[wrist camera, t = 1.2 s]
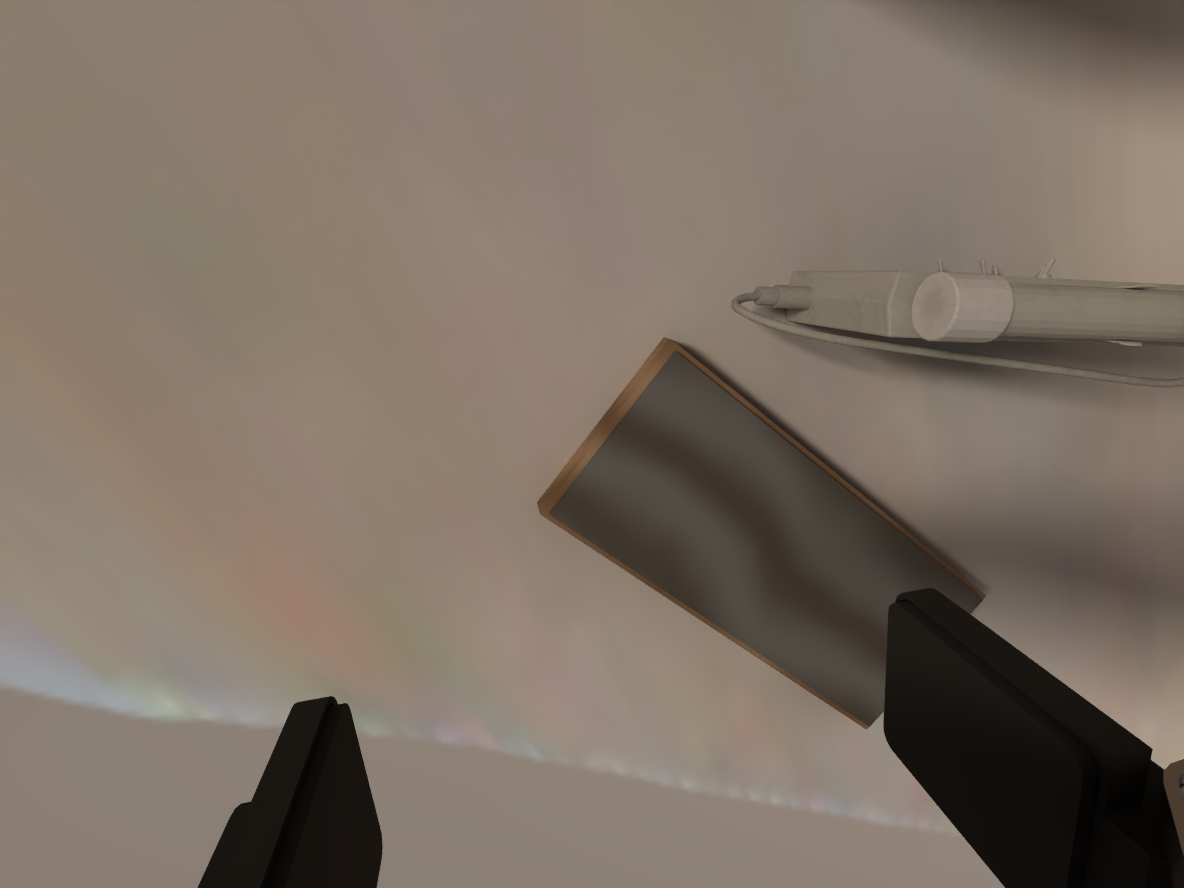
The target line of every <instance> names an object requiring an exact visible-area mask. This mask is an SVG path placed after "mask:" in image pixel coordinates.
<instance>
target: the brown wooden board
mask: <svg viewBox="0 0 1184 888" xmlns="http://www.w3.org/2000/svg"><path fill="white" fill-rule="evenodd" d="M537 503H538V507H539V512H540V515H542V516H543V517H545V518H546V519H548V520H550V521H551V522H553V523H554V524H556V525H557V526H559V527H560V528H562V529H563V530H565V531H566V532H568V533H569V534H571V535H572V536H574V537H575V538H577V539H578V540H580V541H581V542H583V543H584V544H586V545H587V546H589V547H590V548H592V549H594V550H595V551H597V552H598V553H600V554H601V555H603V556H604V557H606V558H607V559H609V560H610V561H612V562H613V563H615V564H616V565H618V566H619V567H621V568H622V569H624V570H625V571H627V572H628V573H630V574H631V575H633V576H634V577H636V578H637V579H639V580H641V581H642V582H644V583H645V584H647V585H648V586H650V587H651V588H653V589H654V590H656V591H657V592H659V593H660V594H662V595H663V596H665V597H666V598H668V599H669V600H671V601H672V602H674V603H675V604H677V605H678V606H680V607H681V608H683V609H685V610H686V611H688V612H689V613H691V614H692V615H694V616H695V617H697V618H698V619H700V620H701V621H703V622H704V623H706V624H707V625H709V626H710V627H712V628H713V629H715V630H716V631H718V632H719V633H721V634H722V635H724V636H725V637H727V638H728V639H730V640H732V641H733V642H735V643H736V644H738V645H739V646H741V647H742V648H744V649H745V650H747V651H748V652H750V653H751V654H753V655H754V656H756V657H757V658H759V659H760V660H762V661H763V662H765V663H766V664H768V665H769V666H771V667H772V668H774V669H776V670H777V671H779V672H780V673H782V674H783V675H785V676H786V677H788V678H789V679H791V680H792V681H794V682H795V683H797V684H798V685H800V686H801V687H803V688H804V689H806V690H807V691H809V692H810V693H812V694H813V695H815V696H816V697H818V698H819V699H821V700H823V701H824V702H826V703H827V704H829V705H830V706H832V707H833V708H835V709H836V710H838V711H839V712H841V713H842V714H844V715H845V716H847V717H848V718H850V719H851V720H853V721H854V722H856V723H857V724H859V725H860V726H862V727H863V728H865V729H868V727H870V726H871V725H872V724H873V723H874V721H875V720H876V719H877V718H878V717H879V716H880V715H881V714H882V713H883V711H884V703H885V678H886V654H887V629H888V610H889V606H890V605H891V604H892V603H895V600H896V598H897V596H898V595H899V594H900V593H904V592H909V591H915V590H920V589H926V588H934V589H936V590H938V591H939V592H941V593H942V594H943V595H945V596H946V597H947V598H949V599H950V600H951V601H953V602H954V603H955V604H957V605H958V606H959V607H961V608H962V609H964V610H965V611H966V612H968V613H969V614H971V613H972V612H973V610H974V609H975V608H976V607H977V606H978V605H979V604H980V603H981V602H982V600H983V598H984V597H985V596H986V595H985V594H984V593H982V592H981V591H980V590H979V589H977V588H976V587H975V586H974V585H973V584H971V583H970V582H969V581H968V580H966V579H965V578H964V577H963V576H961V575H960V574H959V573H958V572H957V571H955V570H954V569H953V568H952V567H950V566H949V565H948V564H947V563H946V562H944V561H943V560H942V559H941V558H939V557H938V556H937V555H936V554H934V553H933V552H932V551H931V550H930V549H928V548H927V547H926V546H925V545H923V544H922V543H921V542H920V541H919V540H917V539H916V538H915V537H914V536H912V535H911V534H910V533H909V532H907V531H906V530H905V529H904V528H903V527H901V526H900V525H899V524H898V523H896V522H895V521H894V520H893V519H891V518H890V517H889V516H888V515H887V514H885V513H884V512H883V511H882V510H880V509H879V508H878V507H877V506H876V505H874V504H873V503H872V502H871V501H869V500H868V499H867V498H866V497H864V496H863V495H862V494H861V493H860V492H858V491H857V490H856V489H855V488H853V487H852V486H851V485H850V484H849V483H847V482H846V481H845V480H844V479H842V478H841V477H840V476H839V475H837V474H836V473H835V472H834V471H833V470H831V469H830V468H829V467H828V466H826V465H825V464H824V463H823V462H821V461H820V460H819V459H818V458H817V457H815V456H814V455H813V454H812V453H810V452H809V451H808V450H807V449H806V448H804V447H803V446H802V445H801V444H799V443H798V442H797V441H796V440H794V439H793V438H792V437H791V436H790V435H788V434H787V433H786V432H785V431H783V430H782V429H781V428H780V427H779V426H777V425H776V424H775V423H774V422H772V421H771V420H770V419H769V418H767V417H766V416H765V415H764V414H763V413H761V412H760V411H759V410H758V409H756V408H755V407H754V406H753V405H752V404H750V403H749V402H748V401H747V400H745V399H744V398H743V397H742V396H740V395H739V394H738V393H737V392H736V391H734V390H733V389H732V388H731V387H729V386H728V385H727V384H726V383H724V382H723V381H722V380H721V379H720V378H718V377H717V376H716V375H715V374H713V373H712V372H711V371H710V370H709V369H707V368H706V367H705V366H704V365H702V364H701V363H700V362H699V361H697V360H696V359H695V358H694V357H693V356H691V355H690V354H689V353H688V352H686V351H685V350H684V349H683V348H682V347H680V346H679V345H678V344H677V343H675V342H674V341H672V340H669V339H667V338H663V339H662V341H661V342H660V343H659V345H658V346H657V347H656V349H655V350H654V351H653V352H652V354H651V355H650V356H649V358H648V359H647V360H646V362H645V363H644V364H643V365H642V367H641V368H640V369H639V371H638V372H637V373H636V375H635V376H634V377H633V378H632V380H631V381H630V382H629V384H628V385H627V386H626V388H625V389H624V390H623V391H622V393H621V394H620V395H619V397H618V398H617V399H616V401H615V402H614V403H613V404H612V406H611V407H610V408H609V410H608V411H607V412H606V414H605V415H604V416H603V417H602V419H601V420H600V421H599V423H598V424H597V425H596V427H595V428H594V429H593V430H592V432H591V433H590V434H589V436H588V437H587V438H586V440H585V441H584V442H583V443H582V445H581V446H580V447H579V449H578V450H577V451H576V453H575V454H574V455H573V456H572V458H571V459H570V460H569V462H568V463H567V464H566V466H565V467H564V468H563V469H562V471H561V472H560V473H559V475H558V476H557V477H556V479H555V480H554V481H553V482H552V484H551V485H550V486H549V488H548V489H547V490H546V492H545V493H544V494H543V495H542V497H541V498H540V499H539V501H538V502H537Z"/></svg>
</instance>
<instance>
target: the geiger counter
mask: <svg viewBox="0 0 1184 888" xmlns="http://www.w3.org/2000/svg"><path fill="white" fill-rule="evenodd" d="M1054 262H1055V258H1054V257H1052V258H1050V260H1049V262H1048V264H1047V266H1043V267H1042V269H1041V271H1040V272H1039V274H1038V275H1036V278H1031V277H1012V276H999V275H998V269H997V264H996V263H994V264H993V271H994V274H987V273H986V268H985V259H983V258H982V259H980V265H981V271H982V274H979V273H960V272H943V266H942V260H938V267H939V272H937V273H933V272H913V271H798V272H793V274H792V277H791V280H790V284H789V286H787V285H775V286H774V287H757V288H756V289H755V292H754V293H746V294H742V295H739V296H737V297H736V298H734V299H733V300H732V305H731V307H732V309H733V310H734V311H735V312H737V313H739V314H740V315H742V316H744V317H745V318H747V319H749V320H751V321H754V322H756V323H758V324H761V325H764V326H767V327H770V328H773V329H777V330H780V331H783V332H787V333H791V334H795V335H798V336H803V337H807V338H811V339H815V340H820V341H825V342H830V343H836V344H842V345H848V346H854V347H862V348H869V349H876V350H884V351H891V352H898V353H906V354H913V355H920V356H928V357H935V358H942V359H949V360H957V361H964V362H971V363H979V364H986V365H993V366H1001V367H1008V368H1015V369H1023V370H1030V371H1037V372H1045V373H1052V374H1059V375H1067V376H1074V377H1081V378H1088V379H1096V380H1103V381H1110V382H1118V383H1125V384H1133V385H1143V386H1152V387H1178V386H1184V378H1181V379H1169V380H1164V379H1151V378H1142V377H1134V376H1126V375H1119V374H1112V373H1105V372H1097V371H1090V370H1083V369H1076V368H1069V367H1061V366H1054V365H1047V364H1040V363H1032V362H1025V361H1018V360H1011V359H1004V358H996V357H989V356H982V355H975V354H967V353H960V352H953V351H946V350H939V349H931V348H924V347H917V346H910V345H902V344H895V343H888V342H881V341H874V340H866V339H859V338H852V337H846V336H840V335H834V334H829V333H824V332H819V331H815V330H811V329H806V328H802V327H798V326H794V325H790V324H787V323H783V322H780V321H777V320H773V319H770V318H767V317H764V316H761V315H759V314H756V313H754V312H752V311H750V310H748V309H746V308H745V307H743V306H741V305H740V304H741V303H743V302H746V301H752V300H754V303H755V304H756V305H771V306H772V307H773V308H787V320H788V321H790V322H797V323H803V324H809V325H816V326H822V327H828V328H835V329H841V330H847V331H854V332H860V333H866V334H873V335H879V336H885V337H901V338H922V339H925V340H927V341H937V342H970V343H984V342H989V341H991V340H995V341H1026V342H1058V343H1089V344H1120V345H1129V346H1141V345H1152V346H1183V347H1184V285H1169V284H1150V283H1130V282H1110V281H1090V280H1071V279H1051V278H1050V277H1051V275H1048V274H1047V273H1048V272H1049V270H1050V268H1051V267H1052V265H1053V263H1054Z"/></svg>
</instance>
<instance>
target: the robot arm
mask: <svg viewBox="0 0 1184 888" xmlns="http://www.w3.org/2000/svg"><path fill="white" fill-rule="evenodd" d="M884 733H885V737H886V740H887V742H888V744H889V746H890V748H891V749H892V750H893V752H894V753H895V754H896V755H897V757H898V758H899V759H900V760H901V762H902V763H903V764H904V765H905V766H906V768H907V769H908V770H909V771H910V772H911V774H912V775H913V776H914V777H915V779H916V780H917V781H918V782H919V783H920V785H921V786H922V787H923V788H924V789H925V791H926V792H927V793H928V794H929V796H930V797H931V798H932V799H933V800H934V802H935V803H936V804H937V805H938V806H939V808H940V809H941V810H942V811H943V813H944V814H945V815H946V816H947V817H948V819H949V820H950V821H951V822H952V824H953V825H954V826H955V827H956V828H957V830H958V831H959V832H960V833H961V834H962V836H963V837H964V838H965V839H966V841H967V842H968V843H969V844H970V845H971V846H972V848H973V849H974V850H975V851H976V853H977V854H978V855H979V856H980V858H981V859H982V860H983V861H984V862H985V864H986V865H987V866H988V867H989V868H990V870H991V871H992V872H993V873H994V874H995V876H996V877H997V878H998V879H999V881H1000V882H1001V883H1002V884H1003V885H1004V887H1005V888H1184V759H1183V760H1180V761H1177V762H1174V763H1171V764H1170V765H1169V766H1168V767H1167V768H1166V769H1165V770H1164V769H1162V768H1161V767H1160V766H1158V765H1157V764H1156V763H1154V762H1153V761H1152V760H1151V754H1152V748H1151V747H1149V746H1148V745H1146V744H1145V743H1144V742H1142V741H1141V740H1140V739H1138V738H1137V737H1136V736H1134V735H1133V734H1132V733H1130V732H1129V731H1128V730H1126V729H1125V728H1123V727H1122V726H1121V725H1119V724H1118V723H1117V722H1115V721H1114V720H1113V719H1111V718H1110V717H1109V716H1107V715H1106V714H1104V713H1103V712H1102V711H1100V710H1099V709H1098V708H1096V707H1095V706H1094V705H1092V704H1091V703H1090V702H1088V701H1087V700H1086V699H1084V698H1083V697H1081V696H1080V695H1079V694H1077V693H1076V692H1075V691H1073V690H1072V689H1071V688H1069V687H1068V686H1067V685H1065V684H1064V683H1062V682H1061V681H1060V680H1058V679H1057V678H1056V677H1054V676H1053V675H1052V674H1050V673H1049V672H1048V671H1046V670H1045V669H1044V668H1042V667H1041V666H1039V665H1038V664H1037V663H1035V662H1034V661H1033V660H1031V659H1030V658H1029V657H1027V656H1026V655H1025V654H1023V653H1022V652H1020V651H1019V650H1018V649H1016V648H1015V647H1014V646H1012V645H1011V644H1010V643H1008V642H1007V641H1006V640H1004V639H1003V638H1001V637H1000V636H999V635H997V634H996V633H995V632H993V631H992V630H991V629H989V628H988V627H987V626H985V625H984V624H983V623H981V622H980V621H978V620H977V619H976V618H974V617H973V616H972V615H970V614H969V613H968V612H966V611H965V610H964V609H962V608H961V607H959V606H958V605H957V604H955V603H954V602H953V601H951V600H950V599H949V598H947V597H946V596H945V595H943V594H942V593H941V592H939V591H938V590H936V589H934V588H926V589H920V590H915V591H909V592H904V593H900V594H899V595H898V596H897V598H896V600H895V603H892V604H891V605H890V606H889V610H888V629H887V654H886V678H885V703H884ZM381 859H382V834H381V830H380V825H379V822H378V817H377V813H376V809H375V805H374V802H373V798H372V794H371V790H370V786H369V782H368V778H367V774H366V770H365V766H364V762H363V758H362V754H361V750H360V747H359V742H358V738H357V734H356V730H355V726H354V722H353V718H352V714H351V711H350V708H349V706H348V704H346V703H344V704H338V703H337V701H336V699H335V698H334V697H332V696H330V697H324V698H319V699H313V700H308V701H302V702H297V703H295V704H294V705H293V707H292V709H291V711H290V713H289V716H288V718H287V720H286V722H285V725H284V727H283V729H282V732H281V734H280V736H279V739H278V741H277V743H276V746H275V748H274V750H273V753H272V755H271V757H270V760H269V762H268V764H267V766H266V769H265V771H264V773H263V776H262V778H261V780H260V782H259V785H258V787H257V789H256V792H255V794H254V796H253V799H252V801H251V802H247V803H242V804H240V805H239V806H238V807H237V808H235V810H234V812H233V813H232V815H231V817H230V819H229V820H228V823H227V825H226V827H225V829H224V831H223V834H222V836H221V838H220V840H219V842H218V844H217V847H216V849H215V851H214V853H213V856H212V858H211V860H210V862H209V864H208V866H207V868H206V871H205V873H204V875H203V877H202V879H201V881H200V884H199V886H198V888H376V887H377V882H378V876H379V871H380V865H381Z"/></svg>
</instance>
